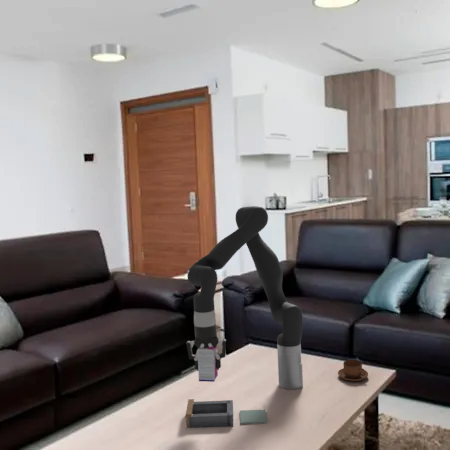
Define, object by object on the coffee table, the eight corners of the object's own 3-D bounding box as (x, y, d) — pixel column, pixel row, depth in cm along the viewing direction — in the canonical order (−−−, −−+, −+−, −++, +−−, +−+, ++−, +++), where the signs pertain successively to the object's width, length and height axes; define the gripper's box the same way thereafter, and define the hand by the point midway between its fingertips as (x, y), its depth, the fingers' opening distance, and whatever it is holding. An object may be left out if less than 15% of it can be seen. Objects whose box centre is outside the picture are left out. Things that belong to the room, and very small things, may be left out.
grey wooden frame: (233, 410, 190) (232, 397, 190) (233, 426, 179) (232, 412, 178) (189, 412, 191) (188, 399, 190) (186, 428, 179) (185, 414, 178)
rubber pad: (265, 411, 189) (265, 409, 189) (266, 423, 180) (266, 421, 180) (240, 412, 189) (240, 410, 189) (240, 424, 180) (240, 422, 180)
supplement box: (215, 381, 180) (213, 349, 178) (198, 381, 181) (196, 349, 180) (218, 375, 185) (216, 343, 184) (202, 374, 186) (200, 343, 185)
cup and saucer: (372, 374, 216) (371, 360, 216) (362, 385, 206) (362, 370, 206) (343, 370, 223) (343, 356, 222) (333, 380, 213) (333, 365, 212)
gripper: (226, 318, 184) (228, 364, 186) (185, 320, 185) (188, 366, 187) (225, 325, 177) (228, 372, 179) (183, 327, 177) (186, 374, 179)
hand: (208, 369), depth 183 cm, fingers closed on supplement box, 6 cm apart
